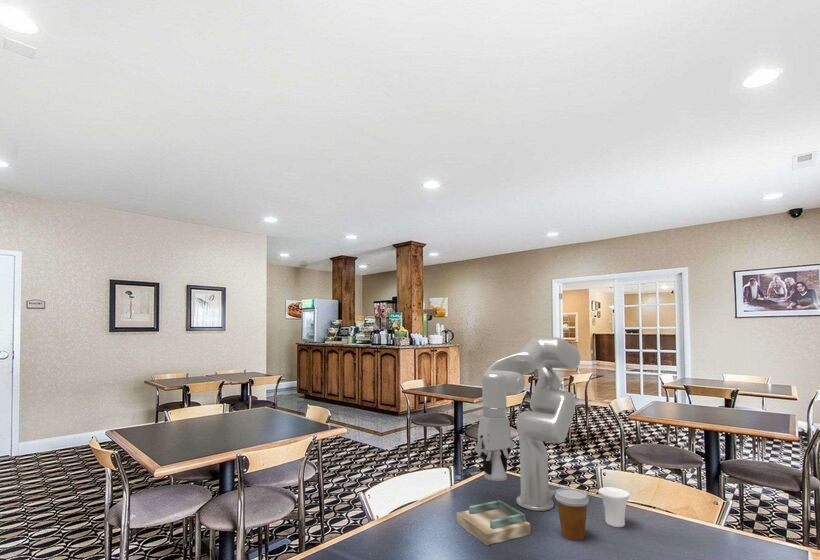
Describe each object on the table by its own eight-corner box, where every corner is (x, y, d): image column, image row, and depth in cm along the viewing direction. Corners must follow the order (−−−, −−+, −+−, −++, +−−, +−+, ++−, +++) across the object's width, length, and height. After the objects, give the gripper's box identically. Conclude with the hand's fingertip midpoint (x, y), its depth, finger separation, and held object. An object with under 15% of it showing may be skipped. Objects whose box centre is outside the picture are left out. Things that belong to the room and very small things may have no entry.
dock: (497, 513, 142) (497, 497, 143) (530, 534, 128) (530, 516, 129) (456, 522, 136) (456, 506, 136) (486, 545, 121) (486, 526, 122)
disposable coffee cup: (574, 546, 121) (572, 501, 122) (549, 532, 129) (548, 490, 131) (597, 539, 125) (595, 496, 127) (571, 525, 134) (570, 485, 135)
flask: (507, 482, 130) (506, 448, 131) (483, 480, 131) (483, 447, 133) (507, 475, 137) (506, 442, 138) (484, 473, 138) (483, 441, 140)
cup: (596, 516, 140) (594, 484, 142) (626, 519, 139) (625, 487, 140) (602, 528, 132) (600, 494, 133) (635, 531, 130) (633, 497, 131)
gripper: (508, 408, 144) (509, 465, 141) (465, 412, 136) (465, 472, 134) (523, 412, 137) (524, 471, 135) (479, 416, 129) (479, 479, 127)
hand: (495, 471), depth 134 cm, fingers closed on flask, 5 cm apart
